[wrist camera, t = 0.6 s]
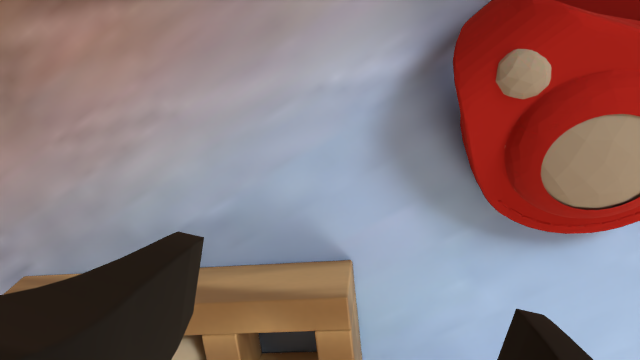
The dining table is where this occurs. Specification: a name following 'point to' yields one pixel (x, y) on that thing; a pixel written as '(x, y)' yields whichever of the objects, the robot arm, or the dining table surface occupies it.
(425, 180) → the dining table surface
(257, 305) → the pen block
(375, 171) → the dining table surface
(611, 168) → the red curved piece
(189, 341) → the marker
